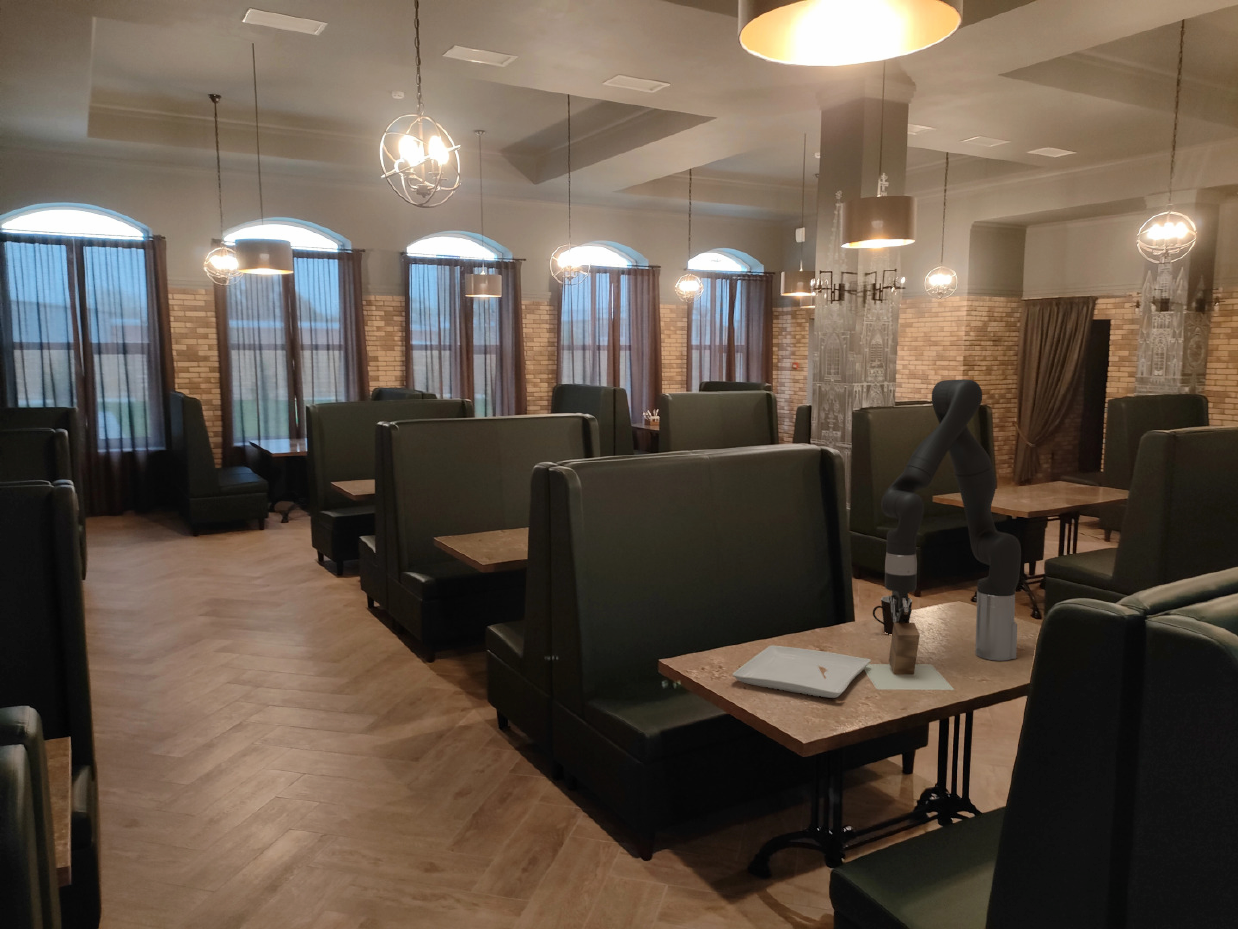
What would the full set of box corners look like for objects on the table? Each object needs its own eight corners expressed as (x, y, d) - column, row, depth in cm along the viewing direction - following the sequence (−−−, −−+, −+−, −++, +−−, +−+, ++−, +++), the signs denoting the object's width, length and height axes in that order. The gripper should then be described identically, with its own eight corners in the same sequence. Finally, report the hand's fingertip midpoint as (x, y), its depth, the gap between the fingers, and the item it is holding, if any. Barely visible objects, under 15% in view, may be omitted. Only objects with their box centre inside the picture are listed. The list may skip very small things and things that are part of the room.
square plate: (872, 672, 220) (872, 657, 219) (840, 708, 196) (841, 691, 196) (770, 656, 234) (770, 642, 233) (730, 688, 210) (730, 672, 210)
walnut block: (908, 661, 219) (914, 622, 214) (913, 674, 215) (919, 635, 210) (888, 661, 220) (893, 622, 214) (893, 674, 215) (898, 635, 210)
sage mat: (931, 666, 222) (931, 664, 222) (954, 692, 204) (954, 689, 204) (860, 666, 223) (860, 664, 223) (876, 691, 205) (876, 689, 205)
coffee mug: (907, 629, 255) (908, 596, 254) (914, 638, 246) (915, 603, 245) (867, 628, 256) (867, 595, 255) (872, 637, 247) (873, 603, 246)
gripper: (923, 576, 209) (921, 646, 211) (909, 565, 223) (907, 630, 224) (891, 576, 210) (890, 646, 212) (879, 564, 223) (878, 630, 225)
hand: (899, 638), depth 218 cm, fingers closed
